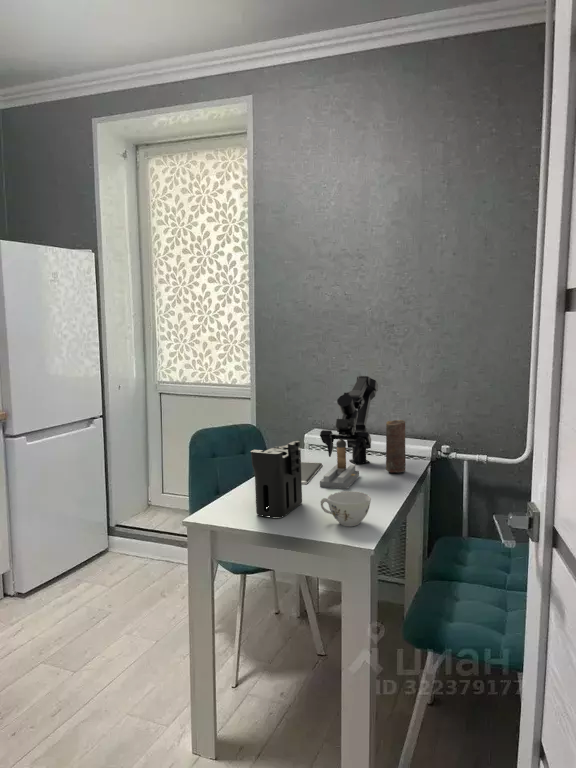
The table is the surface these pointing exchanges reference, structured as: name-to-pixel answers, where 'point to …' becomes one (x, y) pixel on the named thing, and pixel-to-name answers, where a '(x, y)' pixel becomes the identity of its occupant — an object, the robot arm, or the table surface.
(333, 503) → the teacup
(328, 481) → the slider console
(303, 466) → the smartphone
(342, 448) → the lever
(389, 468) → the candle
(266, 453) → the black machined bracket
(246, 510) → the table surface
